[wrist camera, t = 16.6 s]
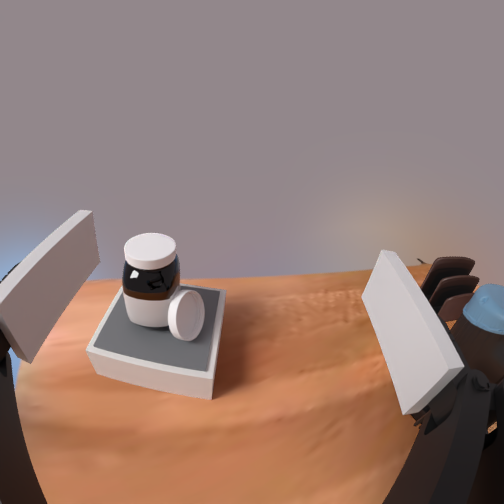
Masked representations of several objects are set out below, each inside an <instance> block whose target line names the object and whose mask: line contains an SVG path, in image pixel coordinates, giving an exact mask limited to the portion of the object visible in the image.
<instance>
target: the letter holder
mask: <svg viewBox="0 0 504 504" xmlns="http://www.w3.org/2000/svg"><path fill="white" fill-rule="evenodd" d="M474 264H475V261H474V260H472V259H470V258H466V257H440V258H437V259H436V260H435V261H434V263H433V265H432V267H431V269H430V270H429V272H428V274H427V276H426V278H425V280H424V282H423V284H422V286H421V287H420V289H421V291H422V292H423V294H424V295H425V297H426V299H427V300H428V302H429V303H430V305H431V307H432V308H433V310H434V312H435V313H436V314H438V315H439V316H440V317H441V318H442V319H443V321H444V322H446V321H452V320H457V319H458V318H459V317H460V315H461V314H462V312H463V308H464V307H465V305H466V304H467V303H468V302H469V301H470V299H471V298H472V296H473V295H474V293H472V292H473V291H474V289H475V287H476V286H477V284H478V282H479V278H478V277H475V276H470V275H469V273H470V272H471V270H472V268H473V267H474Z"/></svg>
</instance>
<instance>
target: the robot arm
mask: <svg viewBox="0 0 504 504" xmlns="http://www.w3.org/2000/svg"><path fill="white" fill-rule="evenodd" d="M99 263H100V258H99V253H98V247H97V241H96V234H95V227H94V219H93V212H92V211H86V210H79V211H78V212H77V213H76V214H74V215H73V216H72V217H70V218H69V219H68V220H67V221H66V222H64V223H63V224H62V225H61V226H60V227H58V229H56V230H55V231H54V232H53V233H51V234H50V235H49V236H48V237H47V238H46V239H45V240H44V241H43V242H42V243H40V244H39V245H38V246H37V247H36V248H35V249H34V250H33V251H32V252H31V253H30V254H29V255H28V256H27V257H26V258H25V259H24V260H23V261H21V262H20V263H18V264H17V265H15V266H14V267H13V268H12V269H11V270H10V271H9V272H8V275H5V277H4V278H3V279H2V281H0V504H47V501H46V499H45V497H44V495H43V492H42V490H41V487H40V485H39V482H38V480H37V477H36V474H35V472H34V469H33V466H32V463H31V460H30V457H29V454H28V450H27V447H26V443H25V440H24V436H23V432H22V428H21V423H20V419H19V414H18V409H17V403H16V397H15V391H14V384H13V375H12V365H11V358H10V355H9V353H8V351H9V349H10V347H11V348H12V349H13V351H14V352H15V354H16V356H17V357H18V358H20V359H22V360H24V361H26V362H28V363H30V364H31V363H32V361H33V359H34V357H35V356H36V354H37V352H38V351H39V349H40V347H41V346H42V344H43V342H44V341H45V339H46V338H47V336H48V334H49V333H50V331H51V330H52V328H53V327H54V325H55V323H56V322H57V320H58V319H59V317H60V316H61V314H62V313H63V312H64V310H65V309H66V307H67V306H68V304H69V303H70V301H71V300H72V299H73V297H74V296H75V294H76V293H77V292H78V290H79V289H80V288H81V286H82V285H83V283H84V282H85V281H86V279H87V278H88V277H89V276H90V274H91V273H92V272H93V270H94V269H95V268H96V266H97V265H98V264H99ZM362 300H363V302H364V304H365V307H366V309H367V312H368V314H369V317H370V319H371V322H372V325H373V327H374V330H375V332H376V335H377V338H378V341H379V343H380V346H381V349H382V352H383V354H384V357H385V360H386V363H387V366H388V369H389V372H390V375H391V378H392V381H393V384H394V387H395V390H396V394H397V397H398V400H399V404H400V407H401V410H402V414H403V415H406V414H411V415H412V416H413V417H414V418H415V419H416V420H417V421H416V422H415V424H414V426H417V425H418V424H419V423H421V424H422V425H421V426H420V427H419V429H420V430H419V433H418V435H417V437H416V440H415V442H414V444H413V447H412V449H411V451H410V453H409V456H408V458H407V460H406V462H405V464H404V466H403V468H402V470H401V472H400V474H399V476H398V477H397V479H396V481H395V483H394V485H393V487H392V488H391V490H390V492H389V494H388V495H387V497H386V499H385V500H384V502H383V503H382V504H504V287H503V286H500V285H496V284H485V285H483V286H481V287H479V288H478V289H477V291H476V292H475V293H474V295H473V296H472V298H471V299H470V301H469V302H468V303H467V304H466V305H465V307H464V308H463V312H462V314H461V315H460V317H459V318H458V320H457V321H456V323H455V324H454V326H453V327H452V328H451V330H449V328H448V326H447V324H446V323H445V322H444V321H443V319H442V318H441V317H440V316H439V315H438V314H436V313H435V312H434V310H433V308H432V307H431V305H430V303H429V302H428V300H427V299H426V297H425V295H424V294H423V292H422V291H421V289H420V288H419V286H418V284H417V283H416V281H415V280H414V278H413V277H412V275H411V274H410V273H409V271H408V270H407V268H406V267H405V265H404V264H403V262H402V261H401V260H400V258H399V257H398V255H397V254H396V253H395V252H392V251H386V250H381V253H380V255H379V258H378V260H377V262H376V265H375V267H374V270H373V272H372V274H371V277H370V279H369V281H368V283H367V286H366V288H365V290H364V292H363V294H362ZM496 421H497V428H496V429H495V430H493V431H492V432H491V433H489V434H488V428H489V427H490V426H491V425H493V424H494V423H495V422H496Z"/></svg>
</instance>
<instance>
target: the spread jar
mask: <svg viewBox="0 0 504 504" xmlns="http://www.w3.org/2000/svg"><path fill="white" fill-rule="evenodd" d="M124 251H125V259H126V261H125V264H124V269H123V277H122V286H123V295H124V300H125V305H126V310H127V314H128V317H129V319H130V321H132V322H133V323H134V324H136V325H139V326H142V327H145V328H151V329H159V328H166V327H169V328H170V331H171V333H172V334H173V336H174V337H175V338H177V339H180V340H185V341H191V340H193V339H195V338H196V337H197V336H198V334H199V333H200V331H201V329H202V326H203V323H204V316H205V309H204V303H203V300H202V298H201V296H200V294H199V293H198V292H196V291H194V290H181V291H180V263H179V258H178V256H177V254H176V243H175V241H174V240H173V239H172V238H171V237H169V236H166V235H164V234H160V233H145V234H140V235H137V236H135V237H133V238H131V239H130V240H128V241H127V243H126V244H125V247H124Z"/></svg>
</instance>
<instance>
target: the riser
mask: <svg viewBox="0 0 504 504" xmlns="http://www.w3.org/2000/svg"><path fill="white" fill-rule="evenodd" d="M181 290H194V291H196V292H198V293H199V294H200V296H201V298H202V300H203V303H204V309H205V316H204V323H203V326H202V329H201V331H200V333H199V334H198V336H197V337H196V338H195V339H193V340H191V341H185V340H180V339H177V338H175V337H174V336H173V334H172V333H171V331H170V328H169V327H166V328H159V329H151V328H145V327H142V326H139V325H136V324H134V323H133V322H132V321H130V319H129V317H128V314H127V310H126V305H125V300H124V295H123V286H121V288H120V290H119V291H118V293H117V295H116V296H115V298H114V300H113V301H112V303H111V305H110V307H109V308H108V310H107V312H106V314H105V315H104V317H103V319H102V321H101V322H100V324H99V326H98V328H97V330H96V332H95V333H94V335H93V337H92V339H91V341H90V343H89V345H88V347H87V349H86V352H87V354H88V357H89V359H90V361H91V363H92V365H93V367H94V369H95V371H96V373H97V374H99V375H102V376H106V377H109V378H112V379H116V380H119V381H123V382H126V383H130V384H134V385H138V386H142V387H146V388H150V389H154V390H159V391H164V392H168V393H173V394H178V395H184V396H190V397H195V398H202V399H208V400H212V393H213V386H214V378H215V371H216V364H217V357H218V351H219V344H220V337H221V330H222V324H223V317H224V308H225V299H226V290H222V289H215V288H208V287H201V286H194V285H188V284H181V283H180V291H181Z"/></svg>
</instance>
